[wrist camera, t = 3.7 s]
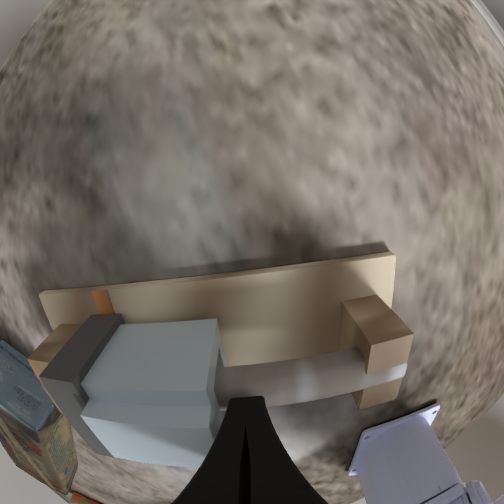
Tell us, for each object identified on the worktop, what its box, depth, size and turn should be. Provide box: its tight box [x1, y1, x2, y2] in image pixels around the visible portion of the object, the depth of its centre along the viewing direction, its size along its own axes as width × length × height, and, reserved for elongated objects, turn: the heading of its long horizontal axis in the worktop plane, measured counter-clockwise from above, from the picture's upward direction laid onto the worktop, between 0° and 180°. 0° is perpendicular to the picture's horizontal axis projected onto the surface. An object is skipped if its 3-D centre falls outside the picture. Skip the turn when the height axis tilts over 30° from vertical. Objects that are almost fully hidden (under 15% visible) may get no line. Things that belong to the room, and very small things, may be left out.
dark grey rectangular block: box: [39, 314, 126, 460], centre depth 11 cm, size 2×5×5 cm, turn 7°
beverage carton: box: [0, 340, 78, 495], centre depth 14 cm, size 8×19×7 cm, turn 156°
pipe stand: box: [27, 251, 414, 413], centre depth 12 cm, size 20×8×4 cm, turn 97°
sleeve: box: [80, 318, 227, 467], centre depth 10 cm, size 5×5×6 cm
